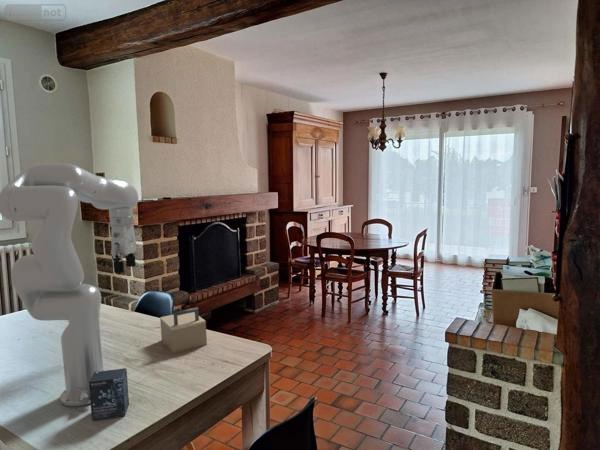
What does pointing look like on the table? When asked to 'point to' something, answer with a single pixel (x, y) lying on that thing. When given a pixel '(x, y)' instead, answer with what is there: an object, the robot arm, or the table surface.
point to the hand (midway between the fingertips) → (125, 269)
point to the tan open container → (184, 337)
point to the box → (109, 394)
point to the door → (183, 319)
